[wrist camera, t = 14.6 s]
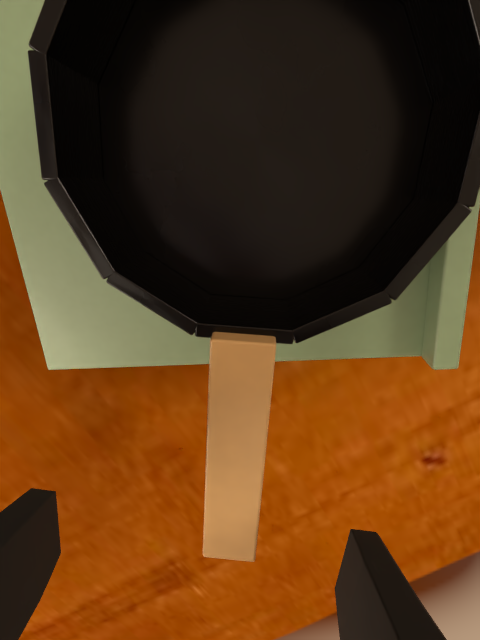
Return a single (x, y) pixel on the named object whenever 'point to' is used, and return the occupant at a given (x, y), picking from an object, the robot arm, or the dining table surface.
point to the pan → (257, 177)
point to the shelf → (140, 322)
